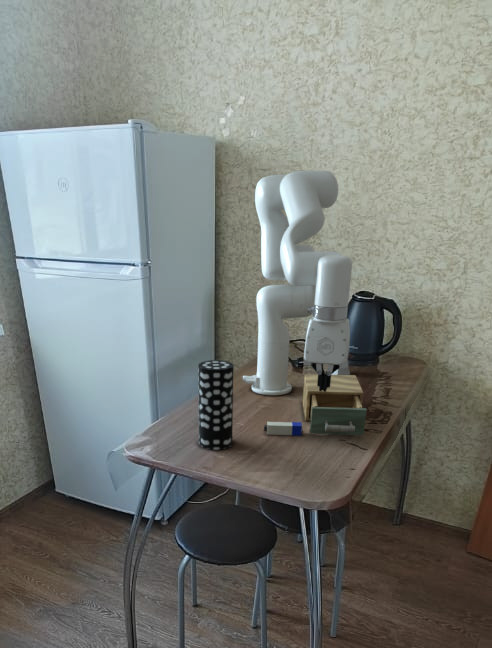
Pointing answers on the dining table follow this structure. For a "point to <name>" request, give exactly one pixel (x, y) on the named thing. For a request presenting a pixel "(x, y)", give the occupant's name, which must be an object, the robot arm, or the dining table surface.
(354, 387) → the cabinet
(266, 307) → the robot arm
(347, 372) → the flask
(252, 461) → the dining table surface
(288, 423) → the white and blue block
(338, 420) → the drawer
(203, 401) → the white-spotted black cylinder
